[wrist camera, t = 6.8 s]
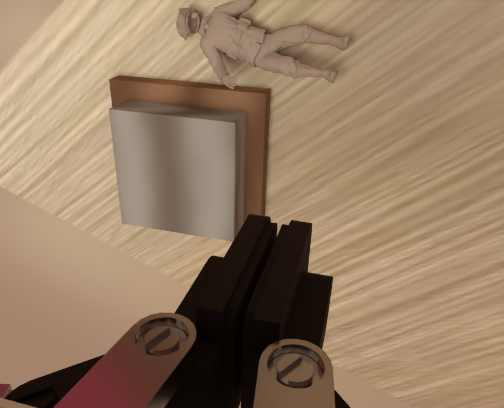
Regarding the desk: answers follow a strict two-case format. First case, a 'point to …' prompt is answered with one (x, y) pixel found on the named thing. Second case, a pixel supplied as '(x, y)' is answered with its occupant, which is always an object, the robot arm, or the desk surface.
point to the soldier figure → (253, 42)
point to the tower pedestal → (189, 154)
